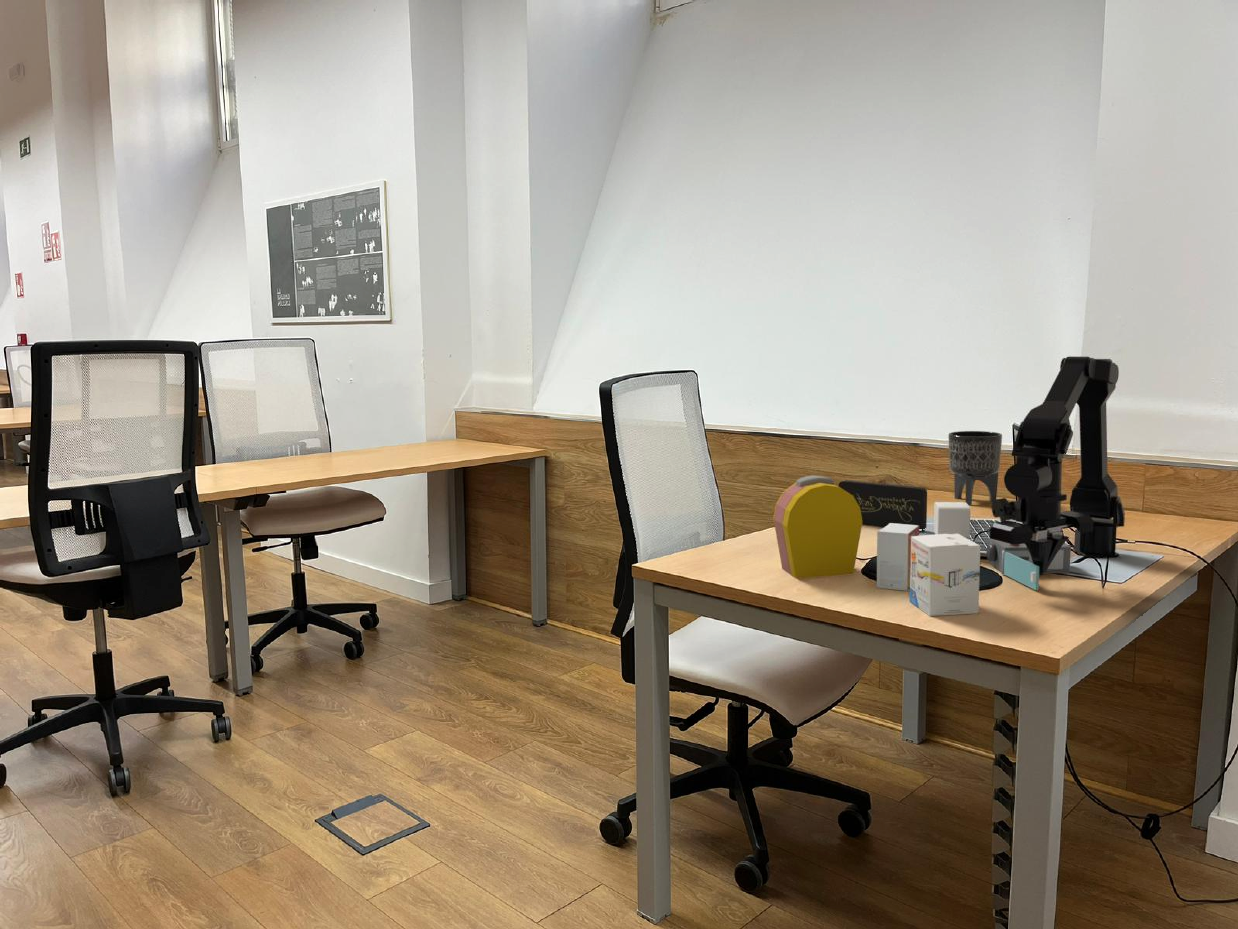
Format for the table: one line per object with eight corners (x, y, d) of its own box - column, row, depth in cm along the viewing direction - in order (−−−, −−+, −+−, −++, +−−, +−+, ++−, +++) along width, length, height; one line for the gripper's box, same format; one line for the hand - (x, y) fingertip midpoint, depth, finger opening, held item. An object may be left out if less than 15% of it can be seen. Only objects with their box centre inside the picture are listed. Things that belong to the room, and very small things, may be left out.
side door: (998, 573, 172) (998, 550, 171) (1004, 573, 172) (1005, 550, 171) (1032, 591, 160) (1033, 566, 160) (1039, 590, 160) (1040, 566, 160)
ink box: (908, 601, 157) (909, 534, 155) (956, 598, 158) (957, 532, 156) (929, 617, 149) (930, 546, 147) (979, 614, 149) (981, 543, 148)
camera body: (1051, 562, 179) (1053, 533, 179) (1069, 573, 171) (1071, 543, 170) (983, 563, 180) (984, 535, 179) (998, 574, 172) (999, 544, 171)
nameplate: (926, 531, 209) (927, 487, 207) (922, 533, 207) (923, 489, 206) (842, 520, 222) (842, 479, 221) (838, 522, 221) (838, 480, 219)
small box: (907, 592, 162) (908, 533, 161) (875, 588, 165) (876, 530, 164) (919, 581, 169) (920, 524, 168) (888, 577, 172) (889, 522, 171)
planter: (994, 507, 231) (996, 437, 229) (941, 503, 238) (942, 435, 236) (1004, 499, 242) (1006, 432, 240) (953, 495, 249) (955, 430, 247)
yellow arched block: (844, 563, 183) (845, 471, 180) (861, 573, 175) (863, 478, 172) (772, 568, 181) (772, 475, 178) (787, 579, 173) (786, 482, 170)
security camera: (969, 556, 185) (970, 507, 184) (933, 555, 187) (934, 507, 185) (964, 548, 192) (965, 501, 190) (929, 548, 193) (930, 501, 191)
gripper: (1045, 475, 171) (1042, 557, 173) (967, 486, 164) (965, 571, 166) (1097, 484, 160) (1093, 571, 163) (1016, 496, 153) (1013, 587, 156)
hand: (1040, 574), depth 162 cm, fingers closed
